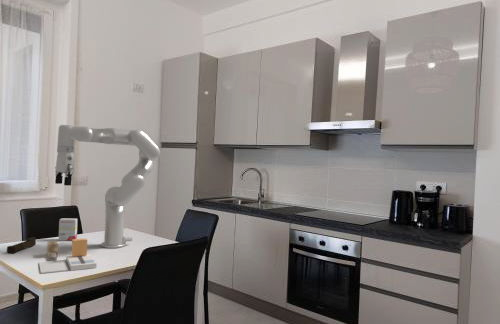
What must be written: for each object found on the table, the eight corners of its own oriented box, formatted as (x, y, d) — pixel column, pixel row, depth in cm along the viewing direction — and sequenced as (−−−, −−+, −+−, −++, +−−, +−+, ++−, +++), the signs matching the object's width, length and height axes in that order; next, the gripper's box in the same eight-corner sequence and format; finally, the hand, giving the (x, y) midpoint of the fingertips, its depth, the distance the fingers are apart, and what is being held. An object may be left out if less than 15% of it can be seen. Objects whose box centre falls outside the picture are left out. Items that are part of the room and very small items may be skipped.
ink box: (77, 238, 215) (78, 218, 214) (74, 240, 210) (75, 219, 210) (60, 238, 213) (61, 217, 213) (58, 240, 208) (59, 219, 208)
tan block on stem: (56, 253, 182) (56, 241, 182) (59, 260, 171) (59, 247, 170) (47, 254, 180) (47, 241, 180) (49, 261, 168) (49, 248, 168)
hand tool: (13, 254, 178) (14, 244, 178) (6, 253, 179) (6, 244, 179) (40, 245, 197) (40, 236, 197) (33, 245, 197) (33, 236, 197)
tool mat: (64, 261, 171) (64, 259, 171) (68, 270, 157) (68, 269, 157) (38, 263, 165) (38, 262, 165) (40, 273, 152) (40, 272, 152)
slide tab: (85, 253, 176) (86, 238, 176) (86, 255, 173) (87, 239, 173) (71, 254, 173) (72, 239, 173) (72, 256, 170) (73, 240, 170)
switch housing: (89, 257, 178) (89, 253, 178) (96, 267, 163) (96, 263, 163) (66, 259, 173) (66, 255, 173) (70, 270, 158) (71, 265, 158)
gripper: (81, 151, 185) (78, 186, 185) (65, 150, 196) (62, 183, 196) (65, 150, 179) (63, 186, 179) (50, 149, 190) (47, 183, 190)
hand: (63, 184), depth 187 cm, fingers open, 9 cm apart
